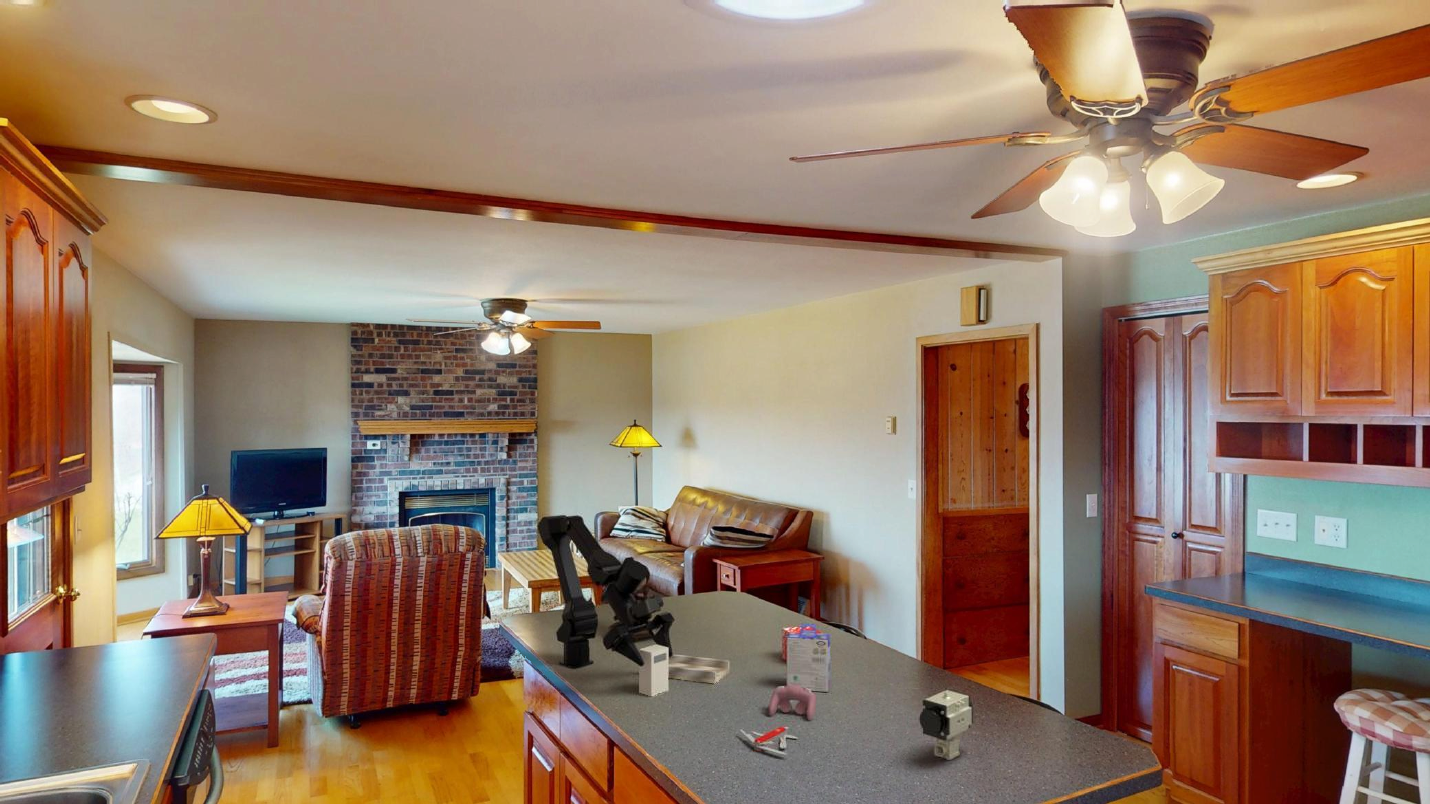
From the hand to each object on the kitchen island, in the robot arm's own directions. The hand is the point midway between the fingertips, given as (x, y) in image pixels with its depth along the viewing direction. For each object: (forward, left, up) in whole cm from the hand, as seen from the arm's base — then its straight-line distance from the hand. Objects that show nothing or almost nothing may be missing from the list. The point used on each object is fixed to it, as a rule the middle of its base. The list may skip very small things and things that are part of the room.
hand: (657, 660), depth 191 cm
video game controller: (+31, +10, -8) cm, 33 cm away
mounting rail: (-5, +15, -7) cm, 17 cm away
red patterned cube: (+11, +42, -8) cm, 44 cm away
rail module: (-1, 0, -7) cm, 8 cm away
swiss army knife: (+37, -5, -8) cm, 38 cm away
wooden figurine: (-39, +30, -8) cm, 50 cm away
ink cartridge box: (+24, +26, -8) cm, 36 cm away
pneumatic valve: (+66, +11, -8) cm, 67 cm away
